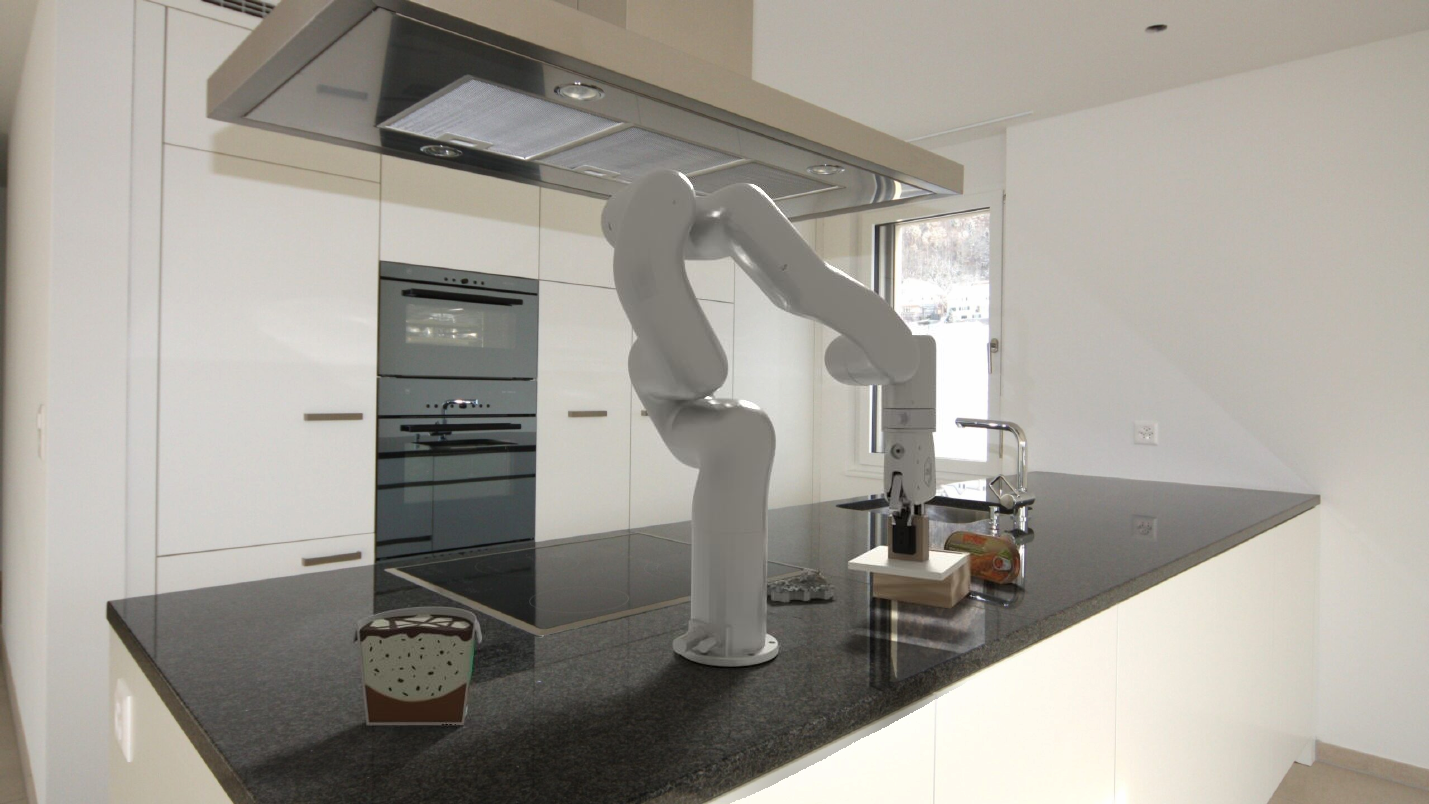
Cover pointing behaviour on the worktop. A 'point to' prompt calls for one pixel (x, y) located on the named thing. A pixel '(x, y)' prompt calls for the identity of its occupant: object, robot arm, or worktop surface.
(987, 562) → the tin
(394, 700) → the food container
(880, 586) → the box
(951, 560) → the lid
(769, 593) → the egg carton
